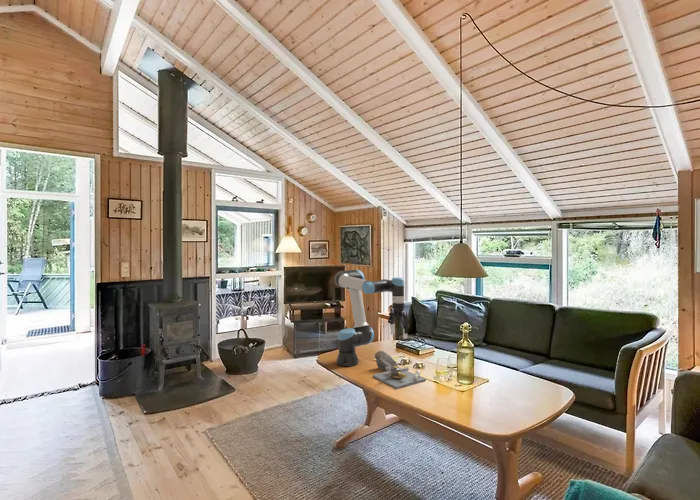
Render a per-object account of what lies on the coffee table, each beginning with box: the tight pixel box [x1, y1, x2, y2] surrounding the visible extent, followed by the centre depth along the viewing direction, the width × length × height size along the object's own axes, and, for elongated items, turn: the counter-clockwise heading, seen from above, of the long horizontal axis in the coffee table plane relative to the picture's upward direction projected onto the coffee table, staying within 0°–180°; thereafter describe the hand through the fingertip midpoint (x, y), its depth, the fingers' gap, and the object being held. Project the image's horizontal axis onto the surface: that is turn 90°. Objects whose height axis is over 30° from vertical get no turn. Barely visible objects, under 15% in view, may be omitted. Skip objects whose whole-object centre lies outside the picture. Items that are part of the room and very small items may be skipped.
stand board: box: [372, 367, 427, 390], centre depth 237 cm, size 24×22×6 cm
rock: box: [374, 350, 399, 372], centre depth 256 cm, size 12×8×15 cm, turn 32°
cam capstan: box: [381, 365, 410, 379], centre depth 237 cm, size 19×19×6 cm
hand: (398, 336), depth 244 cm, fingers open, 12 cm apart
